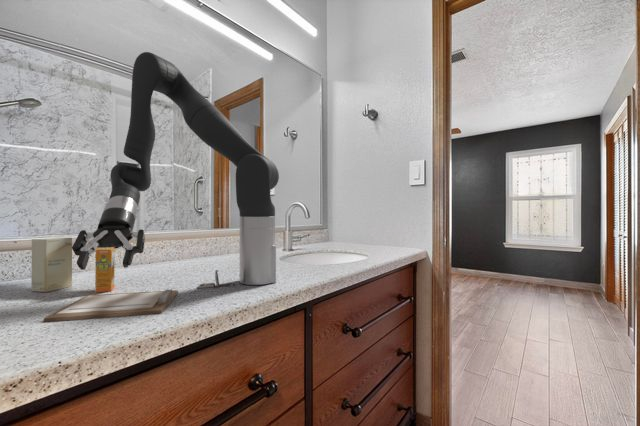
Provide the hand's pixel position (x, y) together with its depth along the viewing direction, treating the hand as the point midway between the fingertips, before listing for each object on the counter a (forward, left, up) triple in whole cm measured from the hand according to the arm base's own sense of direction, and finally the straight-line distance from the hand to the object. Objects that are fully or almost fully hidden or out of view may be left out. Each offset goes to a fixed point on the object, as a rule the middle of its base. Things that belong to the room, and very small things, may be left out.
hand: (103, 266), depth 69 cm
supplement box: (0, -1, -6) cm, 6 cm away
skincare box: (+13, -6, -6) cm, 15 cm away
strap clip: (-25, +1, -6) cm, 26 cm away
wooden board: (-8, +12, -6) cm, 16 cm away
